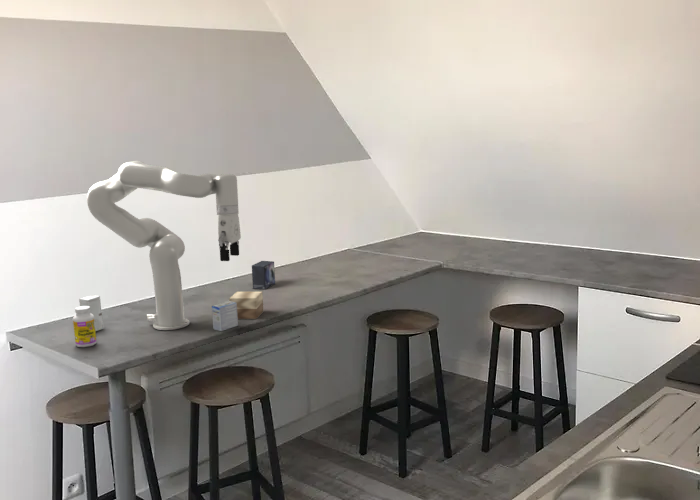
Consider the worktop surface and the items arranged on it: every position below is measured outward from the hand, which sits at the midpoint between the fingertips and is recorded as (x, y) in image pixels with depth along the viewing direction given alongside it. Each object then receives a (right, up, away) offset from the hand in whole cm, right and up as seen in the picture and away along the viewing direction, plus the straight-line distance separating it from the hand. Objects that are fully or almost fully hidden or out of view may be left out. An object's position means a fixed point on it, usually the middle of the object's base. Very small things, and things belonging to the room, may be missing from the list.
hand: (230, 258), depth 251 cm
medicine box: (-2, -25, 0) cm, 25 cm away
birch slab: (+4, -18, +15) cm, 24 cm away
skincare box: (-50, -26, +3) cm, 56 cm away
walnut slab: (+4, -22, +15) cm, 27 cm away
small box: (+5, -13, +59) cm, 61 cm away
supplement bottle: (-46, -29, -13) cm, 56 cm away
